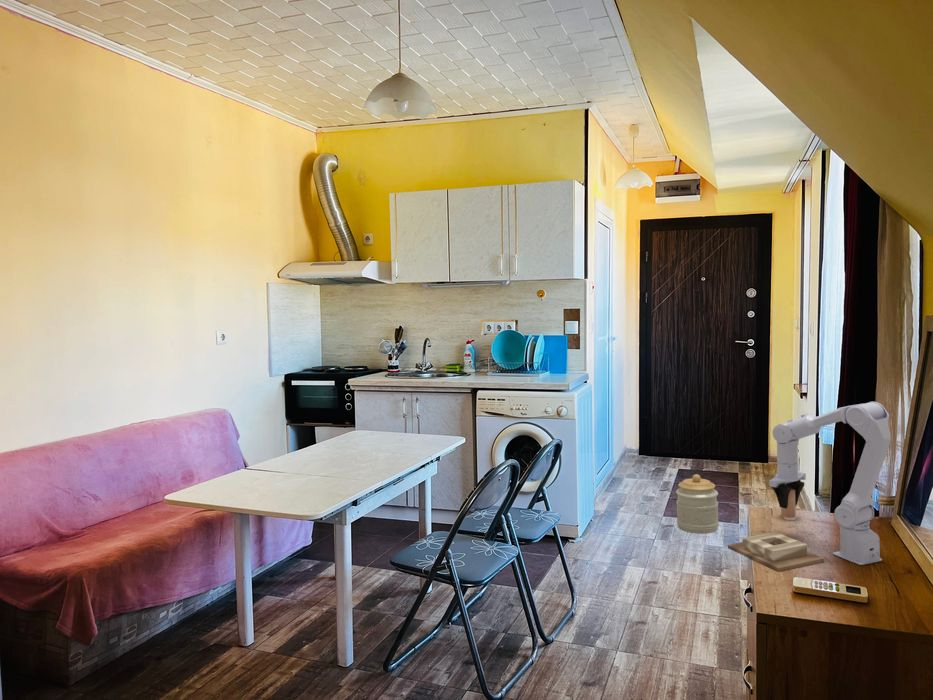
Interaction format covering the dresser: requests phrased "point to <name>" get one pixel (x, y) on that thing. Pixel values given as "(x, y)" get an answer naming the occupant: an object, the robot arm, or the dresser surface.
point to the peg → (790, 506)
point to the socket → (776, 551)
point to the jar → (697, 506)
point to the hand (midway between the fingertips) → (788, 506)
